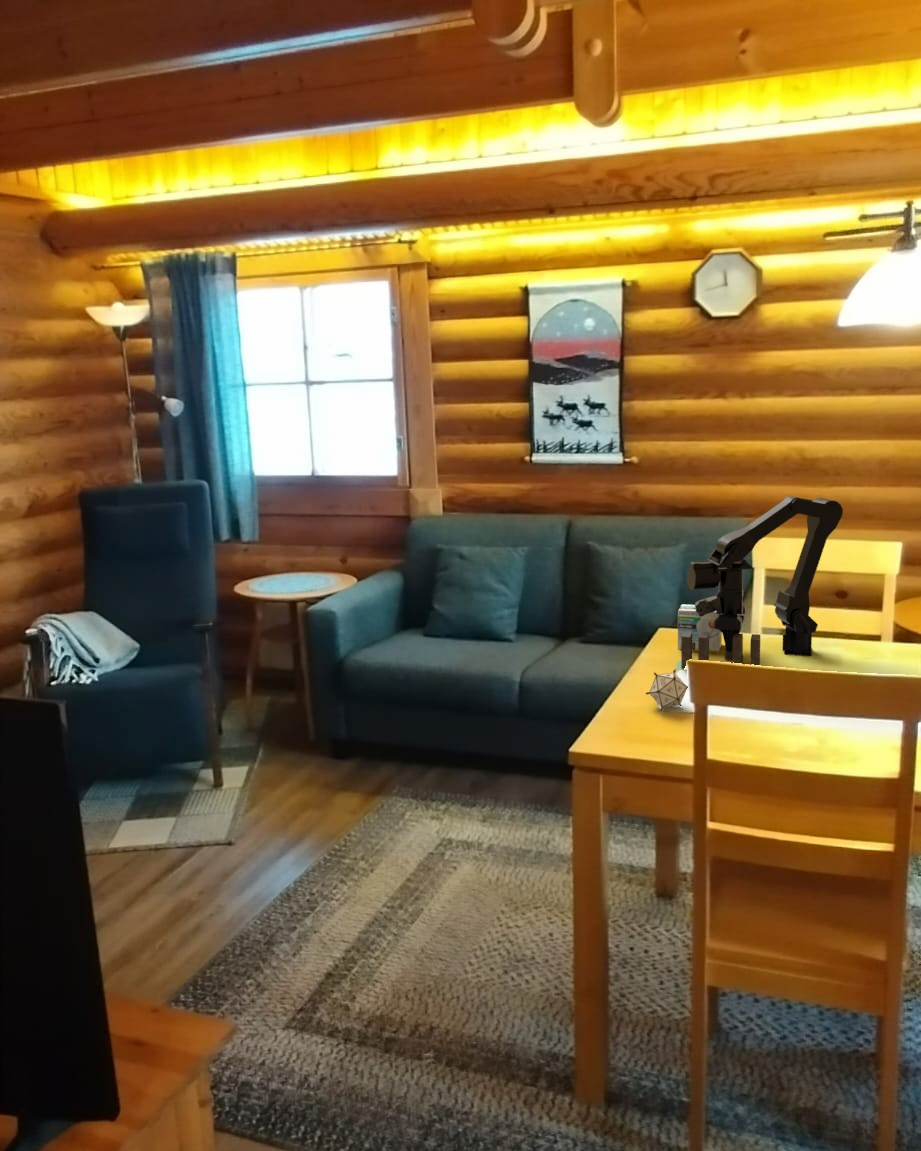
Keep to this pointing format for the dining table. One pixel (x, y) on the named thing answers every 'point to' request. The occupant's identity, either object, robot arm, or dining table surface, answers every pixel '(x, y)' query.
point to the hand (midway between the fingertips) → (730, 648)
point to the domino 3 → (728, 655)
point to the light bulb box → (698, 627)
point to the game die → (668, 690)
